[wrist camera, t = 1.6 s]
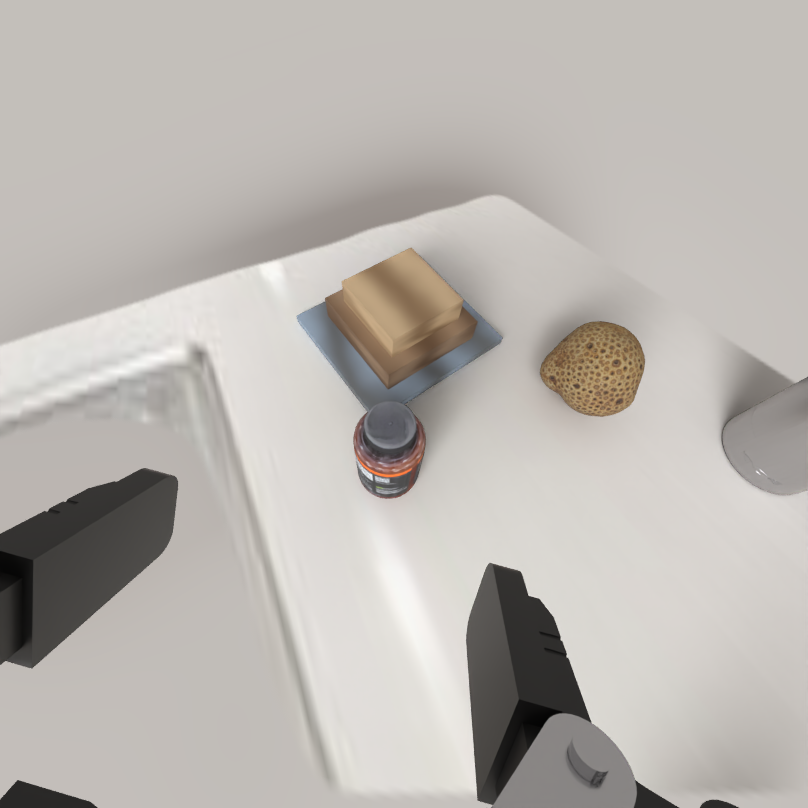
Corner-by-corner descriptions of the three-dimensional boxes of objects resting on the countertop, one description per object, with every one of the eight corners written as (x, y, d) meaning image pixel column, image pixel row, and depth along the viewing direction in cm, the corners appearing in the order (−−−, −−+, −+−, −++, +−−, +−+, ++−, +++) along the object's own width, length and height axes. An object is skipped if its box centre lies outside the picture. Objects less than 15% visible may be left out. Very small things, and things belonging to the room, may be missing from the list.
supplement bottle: (406, 435, 42) (415, 379, 32) (426, 488, 40) (443, 446, 30) (350, 452, 41) (341, 400, 31) (368, 508, 38) (364, 472, 28)
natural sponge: (628, 419, 45) (691, 371, 36) (558, 442, 43) (606, 398, 34) (586, 353, 48) (633, 295, 40) (520, 372, 47) (553, 315, 38)
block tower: (418, 260, 54) (423, 214, 47) (500, 342, 48) (518, 303, 42) (297, 321, 48) (286, 278, 42) (375, 422, 43) (375, 389, 36)
